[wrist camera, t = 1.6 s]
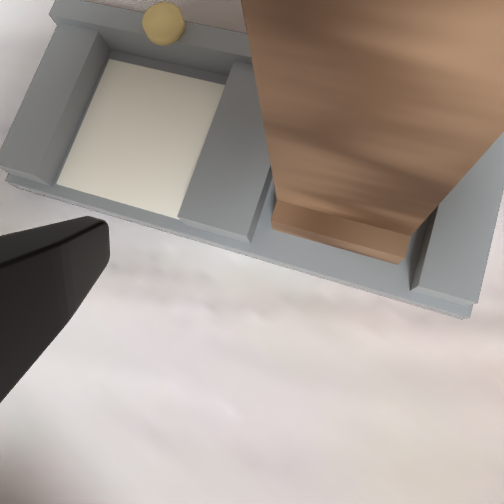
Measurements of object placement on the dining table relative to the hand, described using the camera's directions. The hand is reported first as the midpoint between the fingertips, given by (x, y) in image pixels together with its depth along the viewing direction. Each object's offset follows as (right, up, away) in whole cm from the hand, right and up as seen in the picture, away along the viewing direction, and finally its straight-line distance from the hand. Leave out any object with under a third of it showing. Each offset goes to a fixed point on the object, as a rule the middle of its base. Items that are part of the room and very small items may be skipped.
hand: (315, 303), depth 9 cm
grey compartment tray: (-2, +5, +15) cm, 16 cm away
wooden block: (+4, +4, +13) cm, 14 cm away
